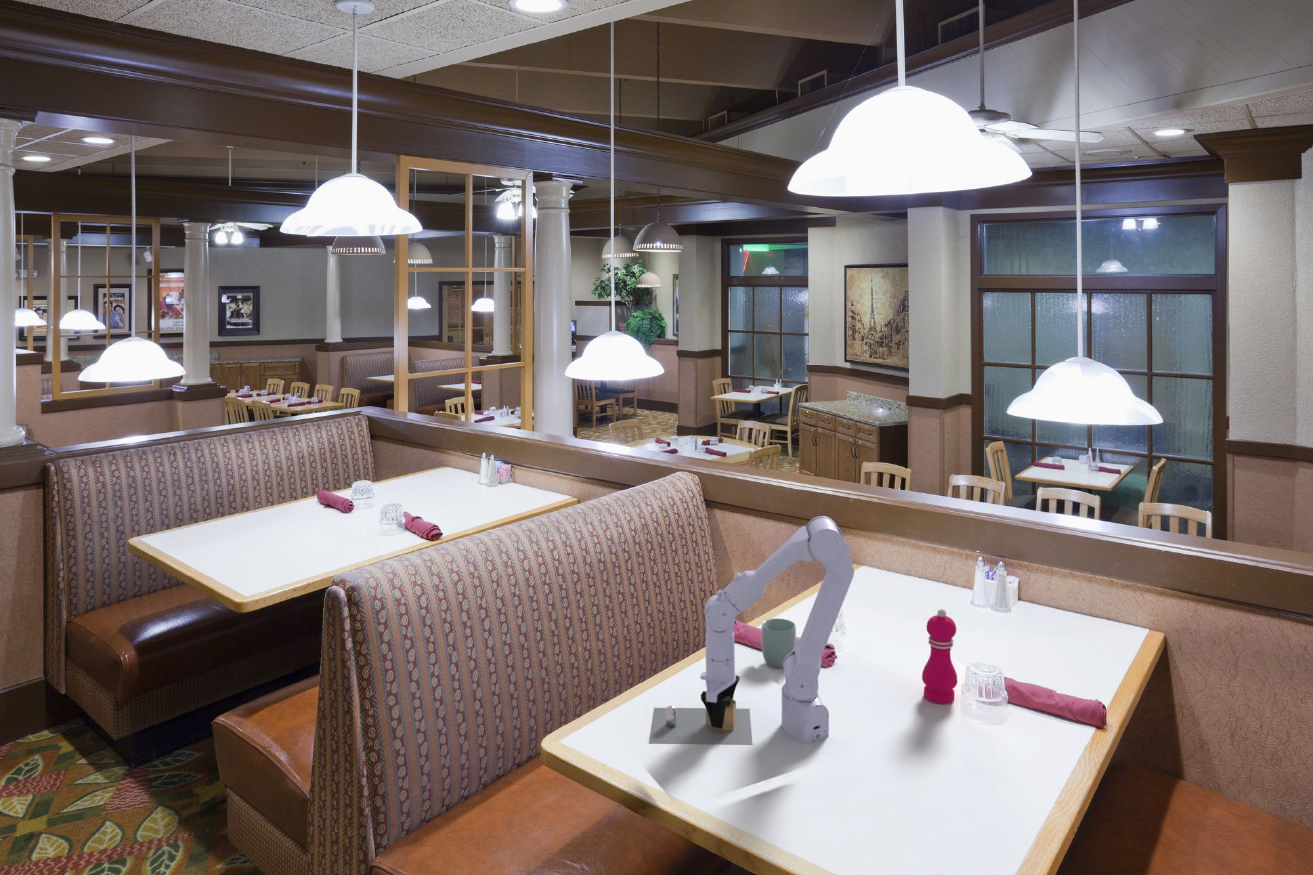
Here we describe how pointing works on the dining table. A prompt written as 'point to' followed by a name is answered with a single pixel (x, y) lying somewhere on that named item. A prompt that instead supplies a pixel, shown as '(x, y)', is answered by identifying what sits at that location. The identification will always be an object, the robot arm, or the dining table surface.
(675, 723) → the steel pin
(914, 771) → the dining table surface
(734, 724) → the bronze ring
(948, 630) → the pepper mill
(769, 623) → the cup
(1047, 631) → the dining table surface
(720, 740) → the slate block
